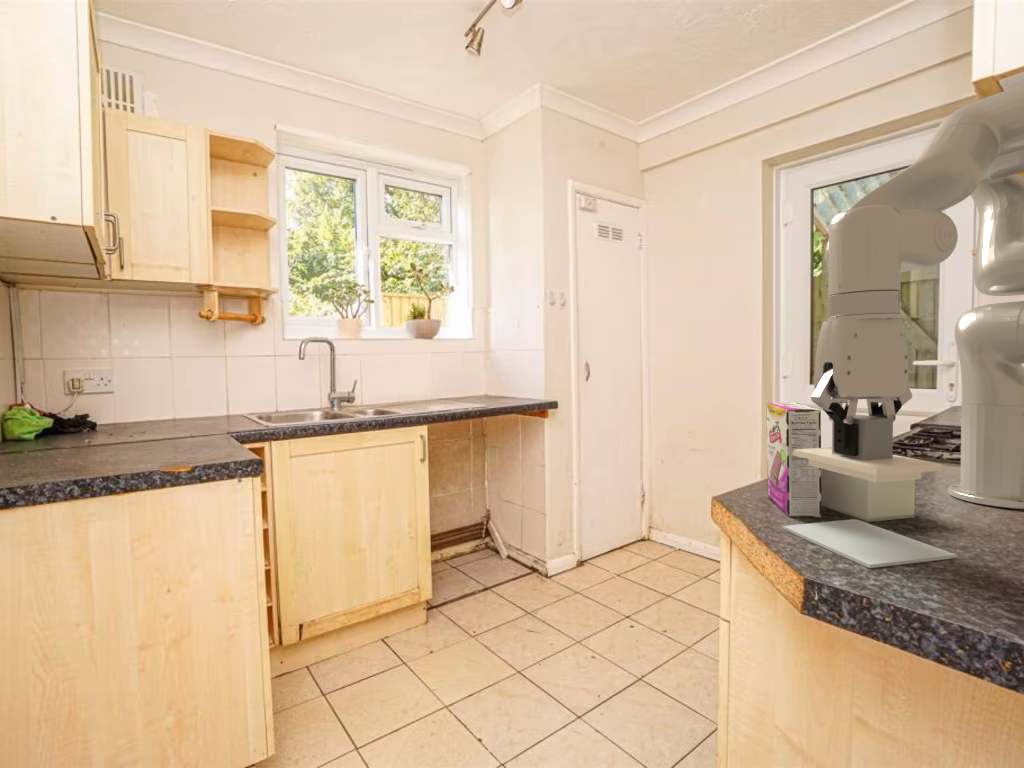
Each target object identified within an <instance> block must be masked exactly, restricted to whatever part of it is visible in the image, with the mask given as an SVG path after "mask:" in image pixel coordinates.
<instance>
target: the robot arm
mask: <svg viewBox="0 0 1024 768" xmlns="http://www.w3.org/2000/svg"><path fill="white" fill-rule="evenodd" d="M1021 173H1024V83H1023V84H1021V85H1017V86H1014V87H1013V88H1010V89H1007V90H1004V91H1001V92H998V93H995V94H992V95H990V96H987V97H984V98H982V99H979V100H976V101H974V102H973V101H972V102H971V103H968V104H966V105H964V106H962V107H960V108H958V109H956V110H955V111H953V112H952V113H949V115H948V116H947V117H945V119H944V120H943V121H942V122H941V123H940V125H939V126H938V127H937V129H936V130H935V132H934V133H933V135H932V136H931V137H930V138H929V140H928V141H927V143H926V144H925V145H924V147H923V148H922V150H921V151H920V153H919V154H918V155H917V157H916V158H915V160H914V161H913V163H912V164H911V165H909V166H908V167H905V168H904V169H903V170H900V171H899V172H898V173H897V174H895V175H893V176H892V177H891V178H888V180H886V181H884V183H882V184H881V185H879V186H877V187H876V188H875V189H873V190H872V191H870V192H869V193H867V194H866V195H864V196H863V197H861V198H860V199H859V200H857V201H856V203H854V204H853V205H852V206H851V207H850V208H849V209H848V210H844V211H842V212H840V213H838V214H836V215H835V216H833V218H832V220H830V223H829V226H828V240H827V242H826V246H825V252H824V255H825V257H824V258H825V263H826V266H827V268H828V272H827V273H828V279H827V281H828V283H827V284H828V286H827V287H828V288H827V290H828V291H827V292H828V296H827V300H828V302H827V303H828V305H827V309H828V310H827V311H828V312H827V320H825V321H822V324H821V327H820V331H819V335H818V341H817V346H816V353H815V360H814V361H815V364H814V375H813V377H814V378H813V379H814V380H813V384H814V385H813V387H814V391H813V392H812V395H811V398H810V400H811V401H812V403H813V404H815V405H817V406H818V407H820V408H821V409H822V411H824V413H826V415H827V416H828V419H829V421H830V422H831V423H832V422H834V452H835V453H839V454H844V455H848V456H857V455H858V424H853V423H854V421H855V415H857V408H858V401H859V400H866V404H867V405H866V406H867V411H868V412H867V413H868V416H874V417H883V418H892V419H893V423H894V422H895V421H896V419H897V418H896V417H897V416H896V415H897V414H898V412H899V411H900V410H901V409H902V406H904V405H905V404H906V403H907V402H909V401H910V400H912V398H913V393H912V391H911V389H910V388H909V385H908V384H909V383H908V382H909V359H908V358H909V355H908V345H907V335H906V332H905V325H904V321H903V318H901V310H902V307H903V302H902V301H901V298H902V297H901V295H902V294H901V293H902V292H901V291H902V288H901V287H902V286H901V285H902V273H905V272H915V271H918V270H925V269H928V268H932V267H935V266H937V265H940V264H942V263H943V262H944V261H946V260H947V259H949V257H950V256H952V254H953V252H954V251H955V248H956V247H957V243H958V240H959V239H958V237H959V236H958V235H959V234H958V229H957V226H956V224H955V222H954V220H953V218H951V217H950V216H949V215H947V214H946V213H945V212H944V211H946V210H948V209H950V208H952V207H954V206H956V205H957V204H959V203H961V202H963V201H965V200H966V199H967V198H969V197H971V199H972V200H973V202H974V204H975V205H976V208H977V212H978V220H979V221H978V231H977V241H976V250H975V258H974V259H975V260H974V269H973V277H974V278H973V279H974V284H975V287H976V290H977V291H978V292H980V293H981V294H983V295H985V296H986V295H987V296H993V297H1010V296H1023V295H1024V177H1022V176H1021V175H1019V174H1021ZM954 339H955V344H956V348H957V355H958V358H959V366H960V373H961V374H960V375H961V376H960V378H961V416H960V417H961V422H960V423H961V425H960V426H961V427H960V430H961V431H960V476H959V478H960V482H959V483H953V484H950V485H949V486H948V489H947V490H948V491H947V493H948V494H949V495H950V496H951V497H953V498H956V499H959V500H962V501H966V502H969V503H975V504H979V505H984V506H989V507H990V506H991V507H996V508H997V507H998V508H1005V509H1006V508H1007V509H1014V510H1015V509H1016V510H1017V509H1018V510H1024V366H1023V365H1022V364H1024V300H1019V301H1010V302H1009V301H1007V302H998V303H997V302H996V303H990V304H984V305H981V306H980V305H979V306H976V307H973V308H971V309H969V310H967V311H965V312H964V313H963V314H962V315H960V316H959V318H958V319H957V321H956V323H955V326H954ZM879 403H880V404H879ZM843 404H845V406H844V407H843Z"/></svg>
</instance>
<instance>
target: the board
mask: <svg viewBox="0 0 1024 768" xmlns="http://www.w3.org/2000/svg"><path fill="white" fill-rule="evenodd" d="M781 529H782V530H784V531H786V532H788V533H791V534H793V535H795V536H797V537H799V538H802V539H804V540H805V541H808V542H811V543H813V544H815V545H817V546H819V547H821V548H824V549H826V550H829V551H830V552H833V553H835V554H837V555H839V556H841V557H844V558H846V559H848V560H850V561H853V562H855V563H856V564H859V565H862V566H863V567H866V568H868V569H875V568H882V567H891V566H900V565H908V564H917V563H925V562H933V561H941V560H943V561H944V560H950V559H957V554H955V553H954V552H951V551H947V550H944V549H942V548H939V547H936V546H934V545H930V544H928V543H924V542H923V541H919V540H916V539H913V538H911V537H908V536H904V535H902V534H899V533H897V532H893V531H891V530H887V529H885V528H882V527H879V526H877V525H875V524H870V522H866V521H864V520H861V519H858V518H854V519H853V518H851V519H843V520H832V521H820V522H811V523H802V524H790V525H782V526H781Z"/></svg>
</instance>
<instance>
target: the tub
mask: <svg viewBox="0 0 1024 768" xmlns="http://www.w3.org/2000/svg"><path fill="white" fill-rule="evenodd" d="M915 481H916V480H903V481H889V482H872V481H868V480H864V479H860V478H857V477H853V476H849V475H845V474H841V473H837V472H833V471H829V470H825V469H822V468H821V507H824V508H827V509H830V510H833V511H834V512H835V511H836V512H838V513H842V514H844V515H847V516H850V517H853V518H854V519H857V520H860V521H863V522H866V523H870V522H871V523H873V522H880V521H881V522H882V521H889V520H890V521H891V520H901V519H902V520H903V519H911V518H912V519H914V518H915V496H916V495H915V494H916V493H915V491H916V490H915V489H916V488H915V486H916V485H915V484H916V483H915Z"/></svg>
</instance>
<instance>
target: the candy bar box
mask: <svg viewBox="0 0 1024 768" xmlns="http://www.w3.org/2000/svg"><path fill="white" fill-rule="evenodd" d="M765 406H766V448H767V449H766V452H767V453H766V456H767V458H766V461H767V463H766V464H767V468H766V471H767V472H766V473H767V498H768V499H769V500H771V501H772V503H773V504H775V505H776V506H777V507H778V508H779V509H780V511H782V512H783V513H784V514H785V515H786V516H787V517H789V518H811V519H812V518H822V506H821V468H818V467H814V466H810V465H809V459H807V458H803V457H798V456H794V455H793V450H795V449H812V448H822V427H821V425H822V423H821V422H822V421H821V419H822V418H821V414H822V410H821V409H819V408H816V407H812V406H808V405H805V404H803V403H799V402H794V401H793V402H790V401H789V402H788V401H787V402H784V401H783V402H782V401H781V402H775V401H774V402H773V401H772V402H767V403H766V404H765Z"/></svg>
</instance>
